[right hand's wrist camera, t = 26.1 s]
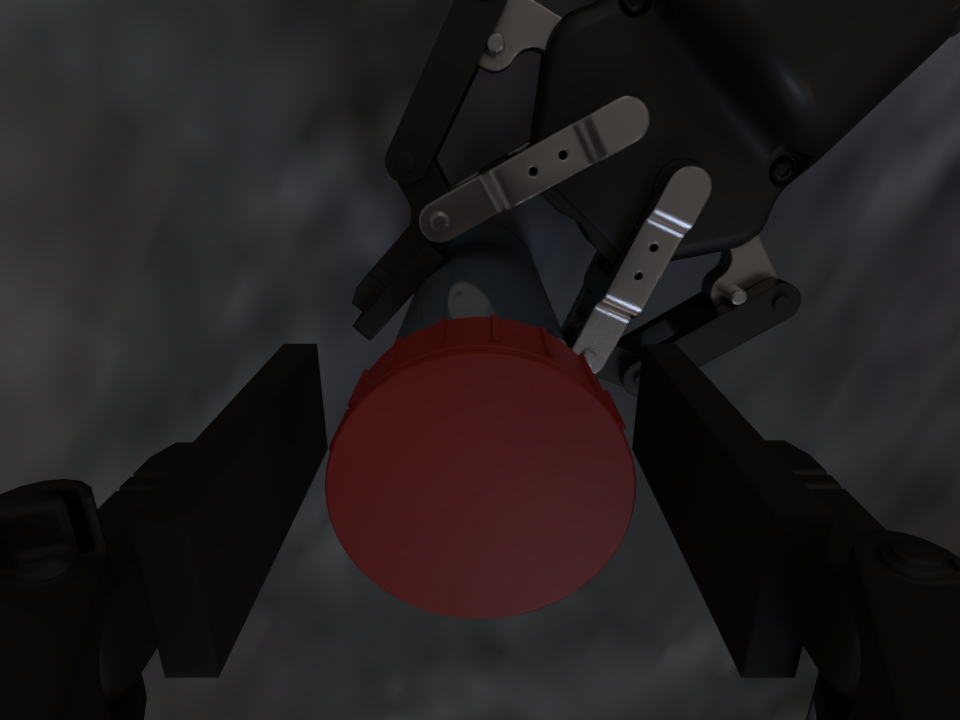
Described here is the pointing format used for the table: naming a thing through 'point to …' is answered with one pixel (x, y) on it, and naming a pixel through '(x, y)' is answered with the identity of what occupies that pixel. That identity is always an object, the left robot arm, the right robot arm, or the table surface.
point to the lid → (480, 470)
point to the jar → (483, 284)
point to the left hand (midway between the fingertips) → (426, 374)
